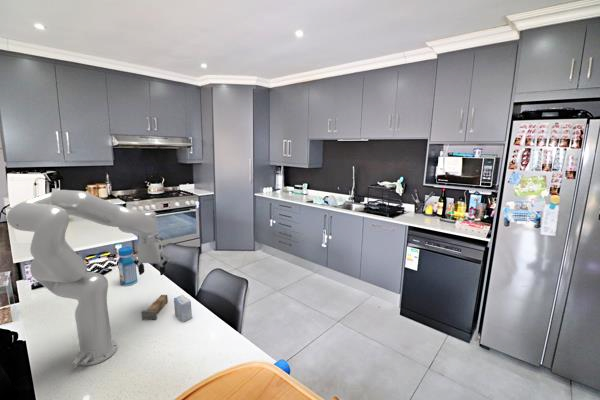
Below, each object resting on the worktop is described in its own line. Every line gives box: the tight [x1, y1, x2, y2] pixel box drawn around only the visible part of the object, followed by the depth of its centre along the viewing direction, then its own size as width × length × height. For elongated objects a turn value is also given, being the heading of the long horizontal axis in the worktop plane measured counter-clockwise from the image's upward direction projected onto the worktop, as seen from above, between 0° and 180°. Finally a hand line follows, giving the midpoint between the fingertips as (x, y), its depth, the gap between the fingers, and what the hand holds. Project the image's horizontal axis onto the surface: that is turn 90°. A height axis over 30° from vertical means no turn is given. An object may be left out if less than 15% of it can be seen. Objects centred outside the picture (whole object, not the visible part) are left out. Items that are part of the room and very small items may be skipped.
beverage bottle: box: [117, 246, 138, 287], centre depth 158 cm, size 8×8×20 cm
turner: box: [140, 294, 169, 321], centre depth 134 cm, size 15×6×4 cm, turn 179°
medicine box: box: [173, 294, 193, 323], centre depth 129 cm, size 8×4×9 cm, turn 47°
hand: (152, 273), depth 133 cm, fingers open, 9 cm apart
